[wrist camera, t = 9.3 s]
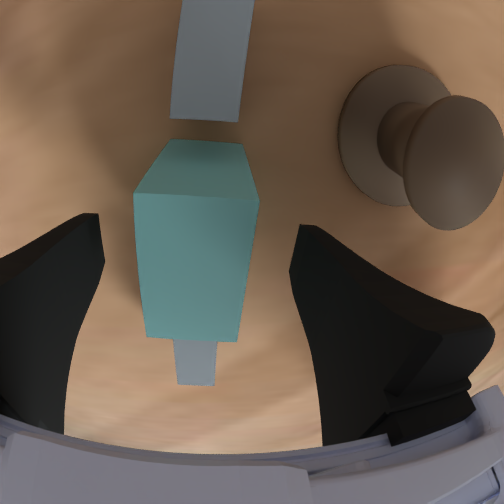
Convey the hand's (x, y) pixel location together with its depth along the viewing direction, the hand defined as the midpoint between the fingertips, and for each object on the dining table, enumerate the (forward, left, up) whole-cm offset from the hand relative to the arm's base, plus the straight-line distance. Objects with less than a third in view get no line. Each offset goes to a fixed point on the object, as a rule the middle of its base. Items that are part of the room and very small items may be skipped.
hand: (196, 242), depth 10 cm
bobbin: (+4, -9, -3) cm, 11 cm away
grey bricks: (0, 0, -3) cm, 3 cm away
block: (0, 0, -3) cm, 4 cm away
